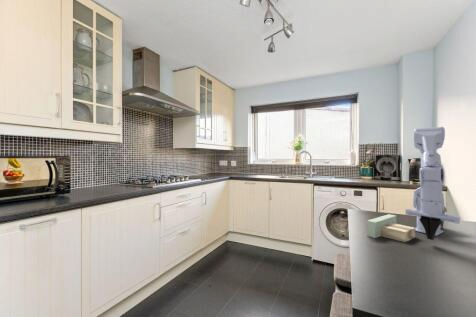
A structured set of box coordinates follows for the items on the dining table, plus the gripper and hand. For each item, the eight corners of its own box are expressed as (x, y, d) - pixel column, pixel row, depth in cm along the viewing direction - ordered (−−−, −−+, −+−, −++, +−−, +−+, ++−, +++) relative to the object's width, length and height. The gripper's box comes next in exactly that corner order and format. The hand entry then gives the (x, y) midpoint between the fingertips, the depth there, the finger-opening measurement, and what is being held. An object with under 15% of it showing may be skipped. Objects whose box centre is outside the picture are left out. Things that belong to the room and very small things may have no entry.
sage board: (388, 227, 98) (388, 214, 98) (396, 229, 96) (396, 215, 96) (366, 235, 87) (367, 220, 87) (375, 238, 84) (375, 222, 84)
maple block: (391, 232, 93) (391, 222, 93) (415, 238, 86) (415, 227, 86) (381, 236, 87) (381, 226, 87) (405, 243, 81) (405, 232, 81)
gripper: (402, 198, 82) (402, 235, 82) (456, 205, 71) (455, 248, 70) (409, 196, 86) (409, 231, 86) (461, 203, 75) (461, 243, 74)
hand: (430, 238), depth 79 cm, fingers closed
